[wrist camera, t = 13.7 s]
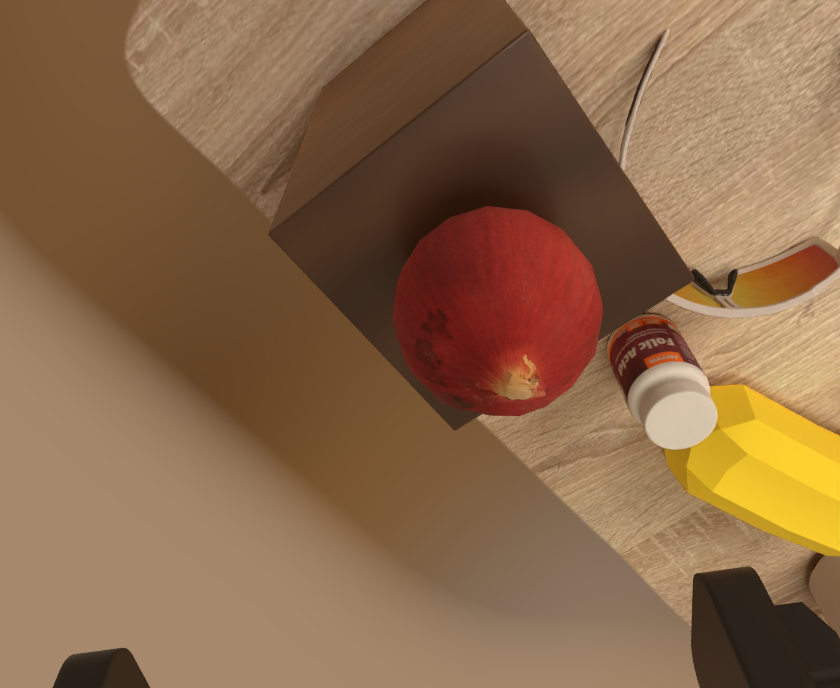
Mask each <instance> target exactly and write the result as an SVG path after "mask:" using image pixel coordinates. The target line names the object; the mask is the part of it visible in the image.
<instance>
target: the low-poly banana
mask: <svg viewBox="0 0 840 688" xmlns="http://www.w3.org/2000/svg"><path fill="white" fill-rule="evenodd" d="M710 396H711V398H712V400H713V402H714V404H715V406H716V409H717V422H716V425H715V427H714V429H713V431H712V432H711V433H710V435H709V436H708V437H707V438H705V439H704V440H703V441H701V442H700V443H698V444H696V445H694V446H692V447H689V448H685V449H679V450H673V449H666V448H664V452H665V456H666V459H667V463H668V467H669V469H670V470H671V471H672V473H673V474H674V475H675V476H676V478H677V479H678V480H679V482H680V483H681V484H682V486H683V487H684V488H685V490H686V491H687V492H688V493H689V494H691V495H693V496H695V497H697V498H699V499H701V500H703V501H705V502H707V503H709V504H711V505H713V506H715V507H717V508H719V509H721V510H723V511H725V512H727V513H729V514H731V515H733V516H735V517H737V518H739V519H741V520H743V521H745V522H747V523H749V524H751V525H753V526H755V527H757V528H759V529H761V530H763V531H765V532H768V533H770V534H773V535H775V536H778V537H780V538H783V539H786V540H788V541H791V542H793V543H796V544H798V545H801V546H803V547H806V548H808V549H811V550H813V551H816V552H818V553H821V554H823V555H826V556H840V436H839V435H837V434H835V433H833V432H831V431H829V430H827V429H825V428H822V427H820V426H818V425H816V424H814V423H812V422H811V421H809V420H807V419H805V418H803V417H802V416H800V415H798V414H796V413H794V412H792V411H791V410H789V409H787V408H785V407H783V406H781V405H780V404H778V403H776V402H774V401H772V400H770V399H769V398H767V397H765V396H763V395H761V394H760V393H758V392H756V391H754V390H752V389H750V388H749V387H747V386H745V385H722V386H710Z"/></svg>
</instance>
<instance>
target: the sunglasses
mask: <svg viewBox="0 0 840 688" xmlns="http://www.w3.org/2000/svg"><path fill="white" fill-rule="evenodd" d="M669 32H670V30H669V29H668V30H666V31H665V33H664V34H663V35H662V37H661V38H660V40H659V41H658V43H657V45H656V47H655V49H654V51H653V53H652V55H651V57H650V59H649V61H648V63H647V66H646V68H645V70H644V73H643V75H642V78H641V80H640V82H639V85H638V87H637V90H636V93H635V96H634V99H633V102H632V105H631V108H630V111H629V114H628V117H627V121H626V124H625V125H626V126H625V130H624V134H623V139H622V143H621V148H620V157H619V165H620V167H621V168H622V170H623V171H624V173H625V164H626V156H627V148H628V144H629V140H630V136H631V132H632V128H633V124H634V120H635V117H636V114H637V111H638V108H639V105H640V102H641V99H642V96H643V93H644V90H645V87H646V85H647V83H648V80H649V78H650V75H651V73H652V70H653V68H654V66H655V64H656V61H657V59H658V57H659V55H660V53H661V51H662V49H663V47H664V45H665V43H666V41H667V39H668V36H669ZM691 273H692V275H693V276H694V281H693V282H691V283H690V284H688V285H687V286H685V287H683V288H682V289H680V290H679V291H677V292H675V293H674V294H672V295H671V296H669V297H667V298H666V299H665V300H667V301H669V302H671V303H673V304H675V305H677V306H679V307H681V308H683V309H686V310H689V311H693V312H696V313H699V314H702V315H708V316H714V317H720V318H750V317H758V316H766V315H770V314H774V313H777V312H781V311H784V310H787V309H790V308H792V307H795V306H798V305H800V304H802V303H804V302H806V301H808V300H810V299H812V298H814V297H815V296H816V295H817V294H818V293H820V292H821V291H823V290H824V289H826V288H827V287H828V286H830V285H831V284H832V283H834V282H835V281H836V280H837V279H839V278H840V248H839V250H838V249H837V248H835V247H834V246H832V245H831V244H829V243H828V242H826V241H824V240H822V239H820V238H818V237H815V238H812V239H810V240H808V241H806V242H804V243H802V244H800V245H798V246H796V247H794V248H792V249H790V250H788V251H786V252H784V253H782V254H780V255H778V256H775V257H773V258H770V259H768V260H765V261H762V262H760V263H757V264H754V265H751V266H748V267H744V268H741V269H734V270H732V271H731V273H730V274H729V277H728V288H727V289H726V290H715V289H714V288H713V287H712V286H711V285H710V283H709V282H708V281H707V279H706V278H704V276H703V275H702V274H701V273H699V272H698V271H697V270H696V269H694V270H692V271H691Z"/></svg>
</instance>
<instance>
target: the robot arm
mask: <svg viewBox="0 0 840 688" xmlns="http://www.w3.org/2000/svg"><path fill="white" fill-rule="evenodd" d="M691 649H692V656H693V663H694V668H695V672H696V676H697V680H698V683H699V686H700V688H840V638H839V636H838V634H837V633H836V632H835V631H834V630H833V629H832V628H831V627H829V626H828V625H827V624H826V623H825V622H824V621H823V620H821V619H820V618H819V617H818V616H817V615H816V614H815V613H813V612H812V611H811V610H810V609H809V608H808V607H807V606H805V605H804V604H803V603H802V602H798V603H790V604H783V605H775V606H774V604H773V602H772V600H771V598H770V596H769V595H768V593H767V591H766V589H765V587H764V585H763V583H762V581H761V579H760V577H759V576H758V574H757V573H756V571H755V570H754V569H753V568H752V567H741V568H733V569H726V570H718V571H711V572H703V573H696V574H695V575H694V578H693V596H692V630H691ZM53 688H150V687H149V685H148V683H147V681H146V679H145V677H144V676H143V674H142V672H141V670H140V668H139V666H138V664H137V662H136V661H135V659H134V657H133V655H132V654H131V652H130V651H129V650H128V649H126V648H118V649H110V650H103V651H96V652H88V653H80V654H74V655H71V656H70V657H68V658H67V659H66V661H65V662H64V663H63V665H62V667H61V669H60V671H59V674H58V676H57V679H56V681H55V683H54V686H53Z"/></svg>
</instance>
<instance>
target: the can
mask: <svg viewBox="0 0 840 688" xmlns="http://www.w3.org/2000/svg"><path fill="white" fill-rule="evenodd" d="M809 588H810V591H811V594H812V596H813V598H814V600H815V601H816V603H817V605H818V607H819V608H820V610H821V612H822V614H823V615H824V617H825V619H826V621H827V622H828V624H829V626H830V627H831V628H832V629H833V630H834V631H835V632H836V633H837V634H838V636H839V638H840V556H826V555H823V556H822V557H821V558H820V560H819V561H818V563H817V565H816V566H815V568H814V570H813V572H812V573H811V575H810V581H809Z"/></svg>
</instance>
